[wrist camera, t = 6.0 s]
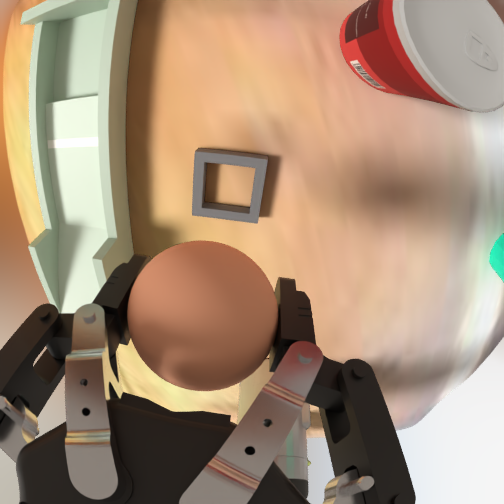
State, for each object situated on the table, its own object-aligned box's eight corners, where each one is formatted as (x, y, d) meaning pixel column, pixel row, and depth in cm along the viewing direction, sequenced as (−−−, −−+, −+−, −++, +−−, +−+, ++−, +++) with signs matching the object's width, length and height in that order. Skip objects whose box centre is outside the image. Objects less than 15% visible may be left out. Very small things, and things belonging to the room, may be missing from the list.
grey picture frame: (267, 155, 21) (267, 159, 20) (258, 217, 24) (257, 223, 23) (198, 147, 21) (194, 151, 20) (195, 209, 24) (192, 215, 23)
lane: (139, -8, 13) (102, -27, 8) (140, 294, 30) (122, 334, 25) (56, 15, 12) (13, 12, 7) (78, 281, 30) (55, 315, 25)
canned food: (424, 100, 17) (515, 129, 8) (337, 87, 18) (402, 93, 8) (422, 21, 13) (510, 7, 4) (333, 1, 13) (387, -53, 4)
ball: (289, 226, 12) (302, 337, 7) (265, 322, 15) (261, 422, 10) (152, 206, 12) (82, 297, 6) (159, 304, 15) (123, 396, 10)
